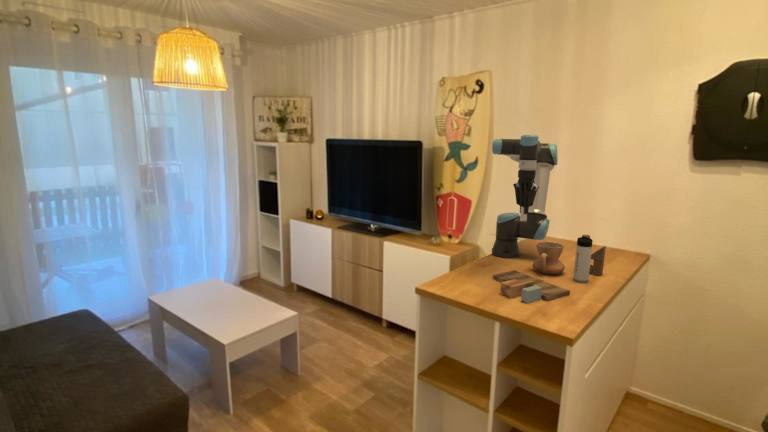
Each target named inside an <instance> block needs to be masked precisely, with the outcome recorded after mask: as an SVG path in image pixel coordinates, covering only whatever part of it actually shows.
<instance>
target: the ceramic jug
mask: <svg viewBox="0 0 768 432" xmlns="http://www.w3.org/2000/svg"><path fill="white" fill-rule="evenodd" d="M535 246H536V251H537V253H538V256H539V257H538V258H537V259H535V260H534V261H533V262H532V268H533V269H534V270H535V271H536V272H537V273H541V274H544V275H550V276H551V275H552V276H553V275H554V276H555V275H559V274H562V273H563V272H564V271H565V270H566V269H565V266H566V265H565V264H564V263H563V262H562V261H561V260H559V258H560V257H561V255H562V253H563V251H564V247H565V245H564V244H563V243H561V242H558V241H557V242H555V241H553V240H541V241H538V242H536V245H535Z"/></svg>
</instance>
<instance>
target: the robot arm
mask: <svg viewBox="0 0 768 432" xmlns="http://www.w3.org/2000/svg"><path fill="white" fill-rule="evenodd" d="M491 152H492V154H494V155H498V156H499V155H501V156H502V155H503V156H505V157H506V156H507V157H508V158H509V159H511V160H512V161H514V162H517V163H518V172H517V177H518V180H517V182H516V183H513V188H514V194H515V201H516V205H518V206H519V212H504V213H500V214H498V215H497V219H496V224H495V225H496V228H495V230H496V231H495V240H494V243H493V247H492V248H491V255H493V256H495V257H499V258H503V259H506V258H507V259H515V258H518V257H519V258H520V256H521V250H520V248H519V243H518V239H520V238H521V239H525V240H526V239H528V240H534V241H537V240H538V241H544V240H545V238H546V236H547V234H548V232H549V231H548V230H549V227H550V219H549V218H548V215H547V214H546V213H545V212H546V206H547V205H546V204H547V198H548V191H549V183H550V176H551V171H552V170H554V168H555V166H558V163H559V161H558V157H559V156H558V146H557V144H556V143H549V142H547V143H542V142H541V141H540V140H539V136H538V134H522V135H521V136H520V138H515V139H514V138H495V139H494V140H493V141H492V145H491Z"/></svg>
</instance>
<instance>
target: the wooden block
mask: <svg viewBox="0 0 768 432" xmlns="http://www.w3.org/2000/svg"><path fill="white" fill-rule="evenodd" d="M582 236H583V237H586V238H590V239H591V235H589V234H582V235H581V237H582ZM606 247H607V246H606V245H604V246H603V247H601V248H599V249H598V250H596V251H595V252H593V253H591V260H592V261H593V262H592V263H593V264H590V270H589V275H594V276H599V277H601V276H602V275H603V274H604V273H603V272H604V265H605V256H606Z"/></svg>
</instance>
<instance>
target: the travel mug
mask: <svg viewBox="0 0 768 432" xmlns="http://www.w3.org/2000/svg"><path fill="white" fill-rule="evenodd" d="M593 242H594V241H593V239H592V238H591V237H590V238H586V237H583V236H582V235H581V236H580V237H577V241H576V249H575V260H574V267H573V268H574V269H573V276H572V279H573V281H574V282H576V283H580V284H583V283H584V284H586V283H588V282H589V279H590V277H589V276H590V273H589V270H590V265H591V260H592V259H591V255H592V251H593V250H592V249H593Z"/></svg>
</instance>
